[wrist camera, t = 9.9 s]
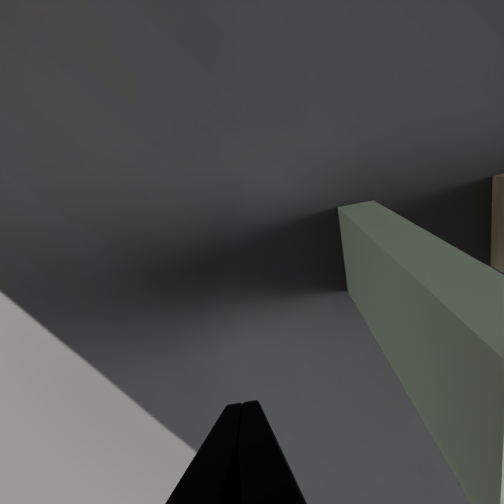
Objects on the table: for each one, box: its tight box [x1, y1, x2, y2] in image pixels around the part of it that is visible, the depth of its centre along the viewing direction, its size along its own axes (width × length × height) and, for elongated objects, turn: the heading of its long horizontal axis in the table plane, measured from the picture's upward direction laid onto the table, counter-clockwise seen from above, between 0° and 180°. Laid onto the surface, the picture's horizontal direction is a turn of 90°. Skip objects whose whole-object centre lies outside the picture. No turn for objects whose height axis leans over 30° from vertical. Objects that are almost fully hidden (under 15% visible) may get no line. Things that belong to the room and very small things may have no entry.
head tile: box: [338, 200, 504, 504], centre depth 12 cm, size 2×5×12 cm, turn 12°
